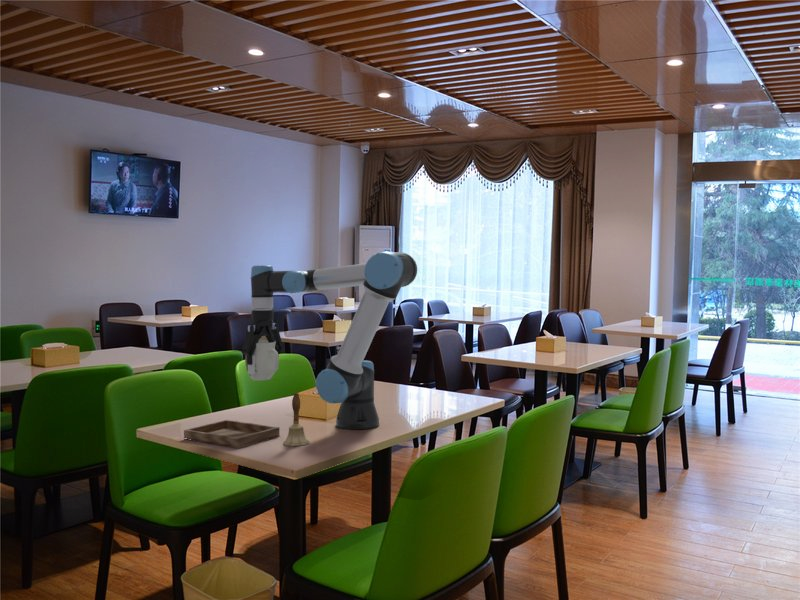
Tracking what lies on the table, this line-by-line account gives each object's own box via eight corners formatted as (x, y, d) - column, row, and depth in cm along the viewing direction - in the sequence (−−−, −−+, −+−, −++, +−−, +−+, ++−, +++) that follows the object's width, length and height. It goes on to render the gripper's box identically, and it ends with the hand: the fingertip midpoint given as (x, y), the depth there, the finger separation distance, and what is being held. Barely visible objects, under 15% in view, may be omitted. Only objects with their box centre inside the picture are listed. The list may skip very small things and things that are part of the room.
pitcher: (264, 383, 249) (264, 343, 248) (235, 378, 262) (234, 339, 261) (291, 380, 257) (290, 340, 256) (261, 375, 269) (260, 337, 269)
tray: (279, 436, 243) (279, 427, 243) (238, 448, 227) (237, 438, 227) (226, 428, 256) (226, 419, 256) (184, 439, 240) (183, 430, 240)
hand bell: (284, 440, 237) (283, 391, 237) (310, 440, 238) (309, 390, 237) (282, 446, 229) (281, 395, 228) (309, 446, 230) (308, 395, 229)
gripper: (277, 307, 270) (277, 367, 271) (230, 310, 250) (231, 375, 251) (292, 308, 266) (293, 368, 267) (246, 311, 246) (247, 376, 247)
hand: (263, 372), depth 259 cm, fingers closed on pitcher, 11 cm apart
